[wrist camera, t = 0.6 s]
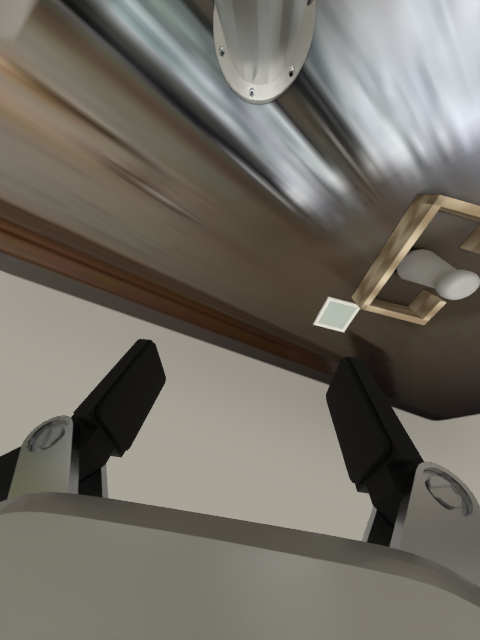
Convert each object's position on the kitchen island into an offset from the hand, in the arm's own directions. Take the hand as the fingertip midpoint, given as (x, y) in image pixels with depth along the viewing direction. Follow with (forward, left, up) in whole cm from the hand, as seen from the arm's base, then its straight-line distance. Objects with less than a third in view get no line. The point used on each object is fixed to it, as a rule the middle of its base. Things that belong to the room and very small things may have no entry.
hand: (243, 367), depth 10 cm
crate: (-3, +31, -34) cm, 46 cm away
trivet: (+12, +23, -34) cm, 43 cm away
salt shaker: (-3, +30, -34) cm, 45 cm away
